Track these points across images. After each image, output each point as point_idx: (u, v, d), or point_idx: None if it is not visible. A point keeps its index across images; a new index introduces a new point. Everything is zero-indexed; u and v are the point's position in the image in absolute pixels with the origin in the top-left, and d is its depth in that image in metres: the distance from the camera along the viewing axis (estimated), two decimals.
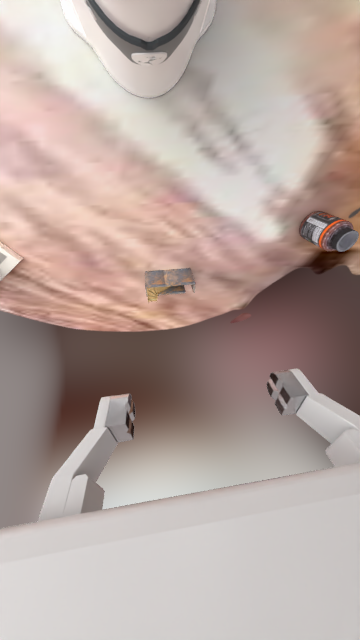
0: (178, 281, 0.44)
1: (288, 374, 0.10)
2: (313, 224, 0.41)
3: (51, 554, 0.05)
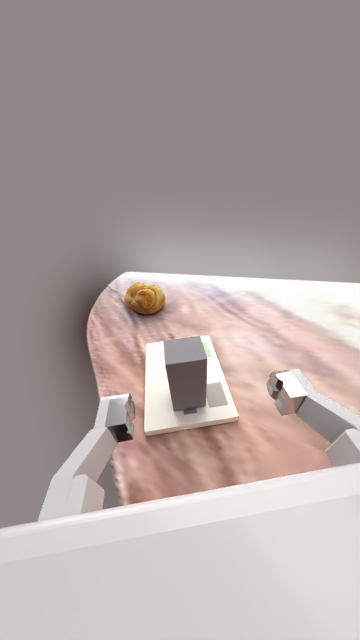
0: None
1: (288, 374, 0.10)
2: None
3: (51, 554, 0.05)
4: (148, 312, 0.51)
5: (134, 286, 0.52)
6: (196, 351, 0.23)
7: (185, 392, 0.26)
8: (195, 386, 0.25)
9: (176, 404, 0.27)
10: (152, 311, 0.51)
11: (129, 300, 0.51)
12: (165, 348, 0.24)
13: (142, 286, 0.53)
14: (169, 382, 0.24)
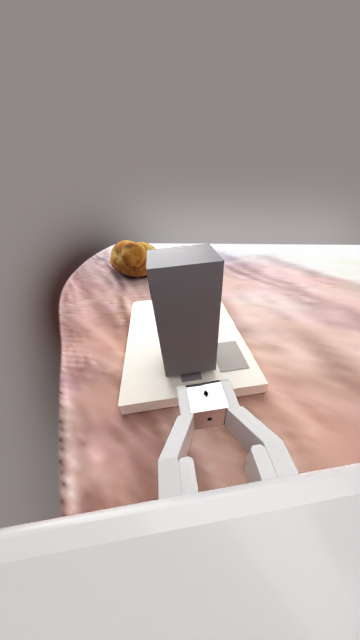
0: None
1: (216, 385, 0.10)
2: None
3: (51, 554, 0.05)
4: (137, 273, 0.41)
5: (121, 242, 0.42)
6: (203, 255, 0.13)
7: (184, 338, 0.16)
8: (200, 326, 0.15)
9: (169, 363, 0.17)
10: (142, 272, 0.41)
11: (114, 258, 0.41)
12: (149, 255, 0.14)
13: None
14: (156, 314, 0.14)
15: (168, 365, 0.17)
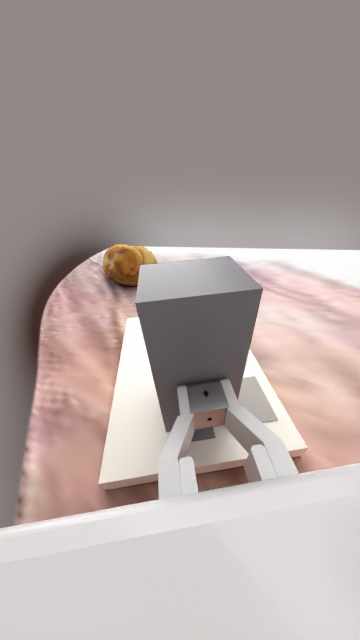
0: None
1: (216, 385, 0.10)
2: None
3: (51, 554, 0.05)
4: (132, 282, 0.36)
5: (114, 246, 0.37)
6: (225, 277, 0.08)
7: None
8: (216, 375, 0.10)
9: (171, 418, 0.13)
10: None
11: (106, 264, 0.36)
12: (143, 274, 0.09)
13: None
14: (152, 363, 0.09)
15: (169, 420, 0.13)
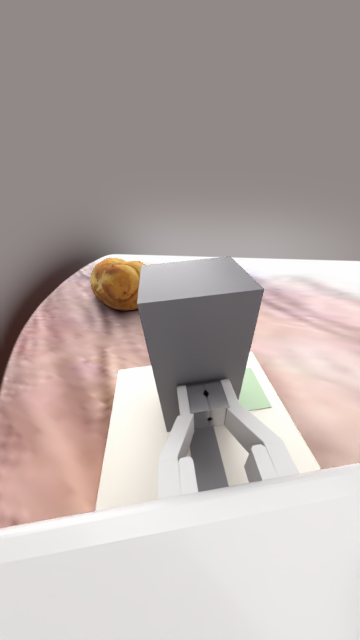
0: None
1: (216, 385, 0.10)
2: None
3: (51, 554, 0.05)
4: (126, 307, 0.29)
5: (104, 262, 0.30)
6: (226, 278, 0.08)
7: None
8: (217, 376, 0.10)
9: (172, 418, 0.13)
10: (133, 305, 0.29)
11: (94, 285, 0.29)
12: (144, 275, 0.09)
13: (119, 263, 0.31)
14: (154, 364, 0.09)
15: (170, 420, 0.13)
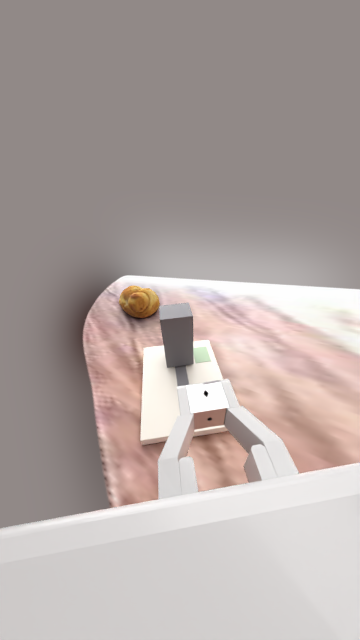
0: None
1: (216, 385, 0.10)
2: None
3: (51, 554, 0.05)
4: (141, 316, 0.50)
5: (128, 289, 0.51)
6: (184, 312, 0.30)
7: (176, 347, 0.32)
8: (184, 342, 0.32)
9: (169, 360, 0.34)
10: (145, 315, 0.50)
11: (122, 303, 0.51)
12: (160, 310, 0.30)
13: (137, 289, 0.52)
14: (163, 337, 0.30)
15: (168, 361, 0.34)
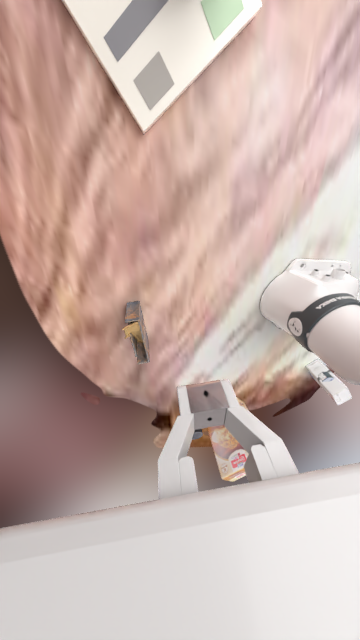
0: (146, 345, 0.40)
1: (216, 385, 0.10)
2: None
3: (51, 554, 0.05)
4: None
5: None
6: None
7: None
8: None
9: None
10: None
11: None
12: None
13: None
14: None
15: None
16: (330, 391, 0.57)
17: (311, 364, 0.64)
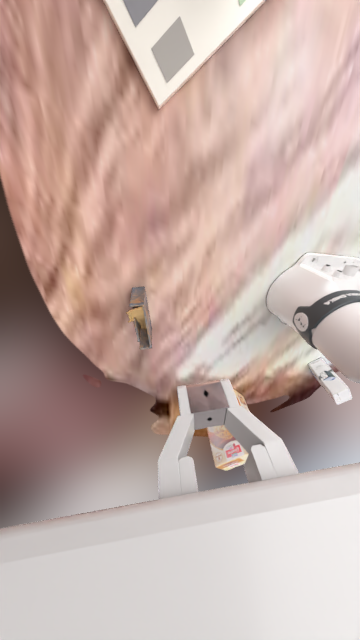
0: (149, 331, 0.40)
1: (216, 385, 0.10)
2: None
3: (51, 554, 0.05)
4: None
5: None
6: None
7: None
8: None
9: None
10: None
11: None
12: None
13: None
14: None
15: None
16: (330, 390, 0.56)
17: (313, 362, 0.63)
